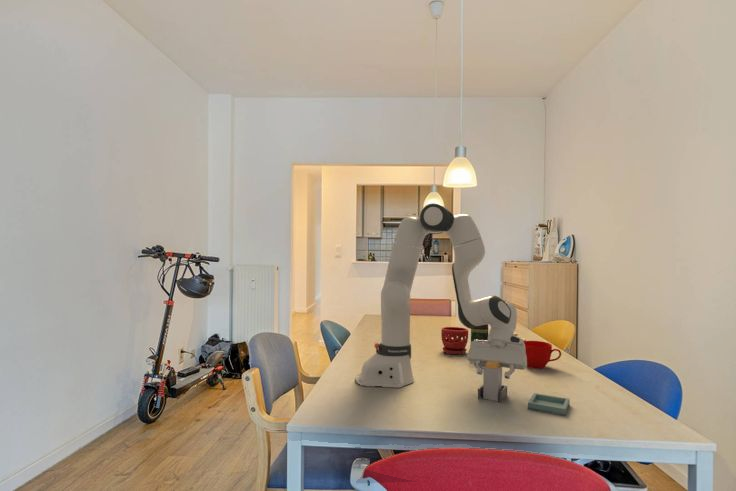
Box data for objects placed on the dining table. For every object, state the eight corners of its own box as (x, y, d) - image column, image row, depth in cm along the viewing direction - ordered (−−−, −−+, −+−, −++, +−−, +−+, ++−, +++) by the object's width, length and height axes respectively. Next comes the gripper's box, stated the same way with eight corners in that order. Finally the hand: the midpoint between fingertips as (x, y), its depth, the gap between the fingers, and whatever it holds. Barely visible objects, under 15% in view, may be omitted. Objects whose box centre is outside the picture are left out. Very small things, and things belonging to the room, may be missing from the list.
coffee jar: (488, 364, 194) (488, 322, 194) (470, 363, 196) (470, 321, 196) (488, 359, 204) (488, 319, 204) (470, 357, 206) (470, 318, 206)
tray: (527, 409, 139) (527, 402, 139) (534, 399, 149) (534, 392, 149) (565, 416, 134) (565, 409, 134) (569, 405, 143) (569, 398, 143)
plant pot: (471, 355, 210) (471, 330, 210) (443, 355, 210) (443, 330, 210) (465, 349, 223) (465, 326, 223) (439, 349, 223) (439, 325, 223)
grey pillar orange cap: (483, 398, 149) (483, 363, 150) (487, 394, 154) (487, 360, 154) (498, 401, 147) (498, 365, 147) (501, 396, 151) (501, 361, 151)
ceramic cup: (557, 374, 179) (557, 349, 179) (515, 367, 189) (515, 344, 189) (564, 367, 189) (564, 344, 189) (525, 361, 200) (525, 339, 200)
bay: (477, 398, 149) (477, 388, 149) (484, 392, 156) (484, 382, 156) (501, 403, 145) (501, 392, 145) (507, 396, 152) (507, 386, 152)
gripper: (470, 334, 162) (461, 366, 154) (527, 339, 152) (522, 375, 143) (473, 343, 166) (465, 376, 158) (530, 350, 156) (524, 385, 147)
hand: (492, 375), depth 150 cm, fingers open, 8 cm apart
